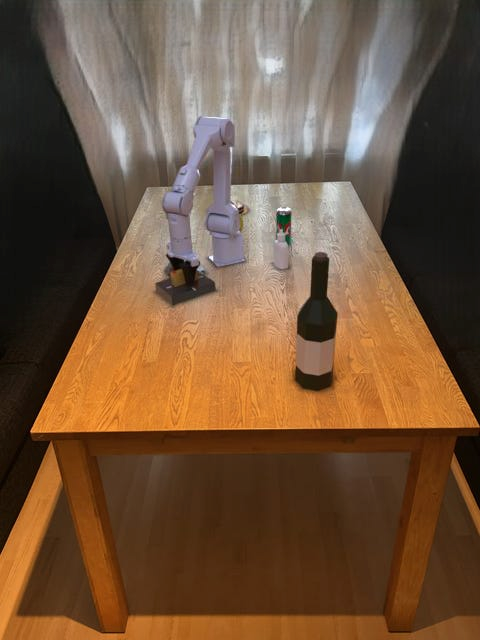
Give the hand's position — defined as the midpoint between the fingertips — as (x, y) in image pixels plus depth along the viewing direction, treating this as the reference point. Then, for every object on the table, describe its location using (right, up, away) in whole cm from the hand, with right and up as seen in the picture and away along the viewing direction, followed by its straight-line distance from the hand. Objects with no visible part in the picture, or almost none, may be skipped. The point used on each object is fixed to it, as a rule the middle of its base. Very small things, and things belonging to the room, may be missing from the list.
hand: (184, 280), depth 150 cm
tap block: (0, -3, +2) cm, 4 cm away
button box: (-1, +3, +13) cm, 13 cm away
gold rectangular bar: (0, -1, 0) cm, 1 cm away
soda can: (+30, +15, +29) cm, 45 cm away
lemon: (+14, +19, +37) cm, 44 cm away
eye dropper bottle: (+28, +5, +14) cm, 32 cm away
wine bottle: (+32, -25, -34) cm, 53 cm away
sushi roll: (+11, +32, +57) cm, 66 cm away
